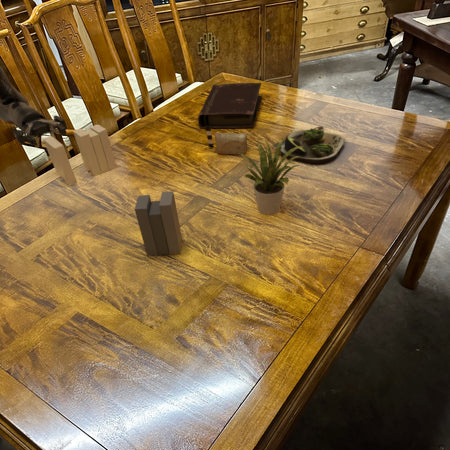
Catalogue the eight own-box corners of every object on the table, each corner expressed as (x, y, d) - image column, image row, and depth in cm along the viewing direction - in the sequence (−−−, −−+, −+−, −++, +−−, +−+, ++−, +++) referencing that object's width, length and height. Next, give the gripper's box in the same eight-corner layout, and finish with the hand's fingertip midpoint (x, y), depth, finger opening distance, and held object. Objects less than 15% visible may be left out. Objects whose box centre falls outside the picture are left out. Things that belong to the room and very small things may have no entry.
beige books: (86, 170, 121) (72, 131, 112) (108, 161, 123) (97, 122, 115) (93, 176, 118) (80, 136, 109) (117, 166, 121) (105, 127, 112)
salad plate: (296, 128, 129) (296, 113, 126) (352, 137, 122) (355, 122, 119) (267, 156, 118) (267, 140, 115) (328, 168, 111) (329, 152, 108)
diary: (198, 129, 134) (196, 113, 130) (212, 98, 151) (210, 83, 147) (256, 128, 131) (255, 112, 127) (263, 97, 148) (263, 82, 144)
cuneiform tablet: (209, 147, 125) (249, 146, 123) (206, 157, 122) (247, 156, 120) (205, 126, 119) (247, 125, 117) (203, 136, 116) (245, 135, 114)
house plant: (316, 207, 99) (323, 141, 87) (278, 235, 93) (279, 167, 81) (271, 187, 107) (271, 124, 95) (232, 211, 100) (228, 147, 89)
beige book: (77, 183, 116) (63, 145, 108) (69, 186, 115) (54, 148, 107) (65, 173, 120) (51, 135, 112) (57, 176, 119) (42, 138, 112)
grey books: (180, 253, 91) (170, 204, 82) (147, 255, 91) (133, 207, 82) (182, 239, 94) (173, 191, 85) (150, 241, 95) (137, 193, 86)
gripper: (0, 116, 121) (19, 132, 112) (47, 101, 127) (68, 115, 118) (12, 140, 127) (30, 158, 117) (56, 125, 132) (77, 141, 123)
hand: (49, 137), depth 118 cm, fingers open, 8 cm apart
